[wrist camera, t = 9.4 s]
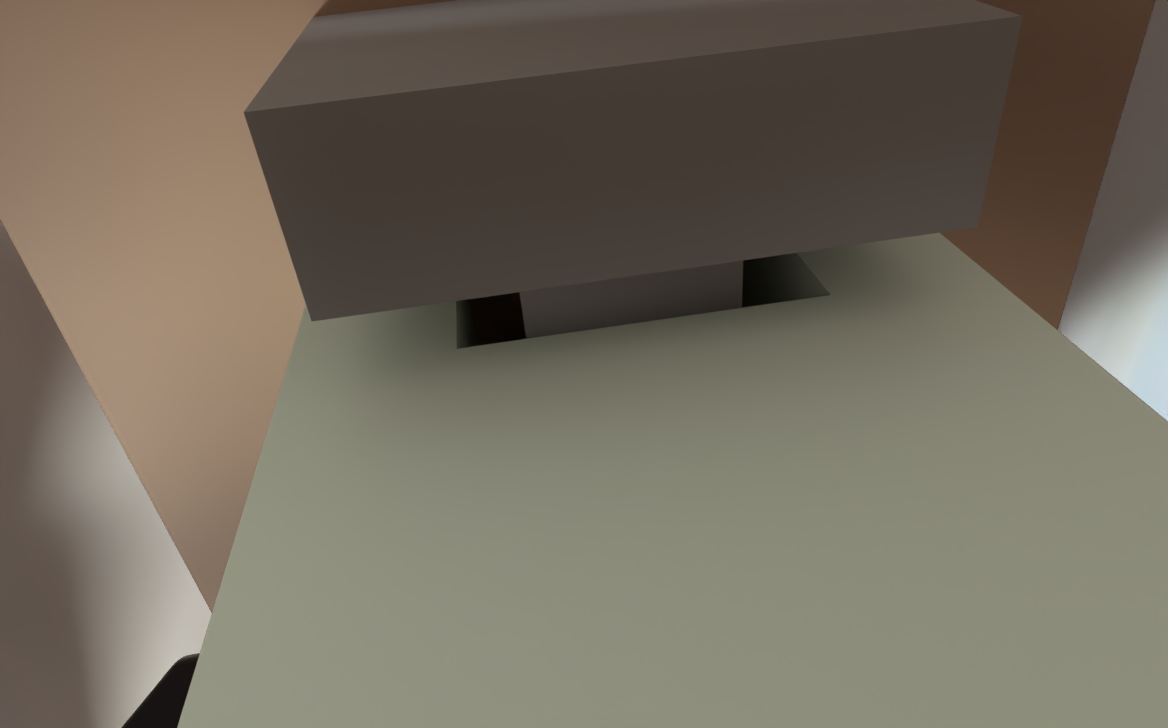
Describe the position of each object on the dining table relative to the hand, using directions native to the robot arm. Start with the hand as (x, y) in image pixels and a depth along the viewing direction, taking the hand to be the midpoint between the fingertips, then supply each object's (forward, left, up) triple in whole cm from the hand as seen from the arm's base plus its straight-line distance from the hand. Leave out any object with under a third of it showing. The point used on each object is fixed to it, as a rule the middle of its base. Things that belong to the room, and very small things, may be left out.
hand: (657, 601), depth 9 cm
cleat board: (-2, 0, -4) cm, 4 cm away
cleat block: (0, 0, -3) cm, 3 cm away
